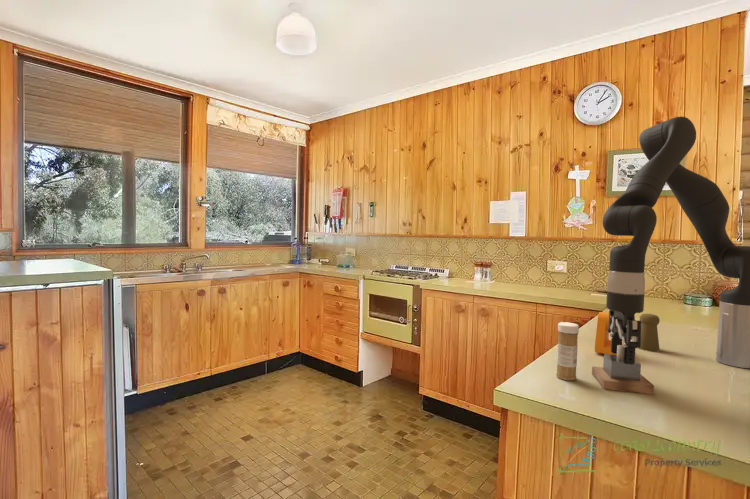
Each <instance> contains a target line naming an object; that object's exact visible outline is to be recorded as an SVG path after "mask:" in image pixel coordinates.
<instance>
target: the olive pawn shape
mask: <svg viewBox="0 0 750 499" xmlns="http://www.w3.org/2000/svg"><path fill="white" fill-rule="evenodd" d="M660 320H661V319H660V317H659V316H658V315H656V314H653V313H641V314H640V315H639V321H641V346H640V348H638V349H639V350H641V349H643V351H646V350H647V352H660V342H659V340H660V339H659V333H658V332H659V331H658V325H659V324H660Z"/></svg>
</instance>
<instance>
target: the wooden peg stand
mask: <svg viewBox="0 0 750 499" xmlns="http://www.w3.org/2000/svg"><path fill="white" fill-rule="evenodd" d="M623 347H624V346H623V345H617V360H616V361H623ZM591 375H592V376H593V378H594V379H595V380H596V382H598V384H599V385H600V386H601V387H602V389H604V390H611V391H612V390H613V391H620V392H629V393H637V394H640V393H641V394H647V395H655V389H654V388H655V385H654V384H653V383H652V382H650V381H649V380H648V379H647V378H646V377H645V376H643V375H642V374H641V373H640V381H633V380H624V379H614V378H610V377H609V376H608V375H607V373H606V372H605V371H604V370H603V366H602V367H601V366H593V365H592V366H591Z"/></svg>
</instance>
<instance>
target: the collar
mask: <svg viewBox="0 0 750 499" xmlns="http://www.w3.org/2000/svg"><path fill="white" fill-rule="evenodd" d="M616 360H617V355H611V354H603V363H602V364H603V365H602V367H603V370H604V371H605V372H606V373H607V375H608V376H609V377H610V378H614V379H624V380H633V381H640V374H641V373H642V371H641V370H642V369H641V368H642V363H641V362H639V361H638V360H637V359H635V363H634V364H633V365H630V364H625V363H623V361H616Z"/></svg>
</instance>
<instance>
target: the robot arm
mask: <svg viewBox="0 0 750 499" xmlns="http://www.w3.org/2000/svg"><path fill="white" fill-rule="evenodd" d="M696 140H697V130H696V127H695V125H694V123H693V121H691V119H690V118H688V117H686V116H675V117H673V118H670V119H667V120H665V121H662V122H659V123H658V124H655V125H653V126H651V127H648V128H646V129H644V130H642V131H641V132H640V134H639V140H638V141H639V145H640V148H641V150H642V153H643V154H644V156H645V157H646V159H648V161H647V162H646V163H645V164H644V165H643V166H642V167H640V168H639V169H638V170H637V171H636V172H635V173H634V175H633V176H632V178H631V180H630V182H629V184H628V185H627V188H626V190H625V191H624V193H622V194H621V195H620V196H619V197H618V198H617V199H615V201H613V202H612V204H610V206H608V208H607V209H606V211H605V212H604V215H603V217H602V228H603V229H604V231H605V232H606V233H607V234H608V235H611V236H614V237H616V236H617V237H618V236H619V237H622V236H623V237H624V236H625V237H627V236H628V237H632V239H631V241H630V242H629V243H628V244H624V245H617V246H614V247H612V248H611V250H609V251H610V253H609V264H608V265H609V266H608V267H609V268H608V270H609V271H608V275H607V282H606V283H607V286H606V301H605V302H606V305H605V306H606V309H608V310H609V312H608V313H609V323H608V333H609V336H610V338H611V339H610V340H611V352H612V353H614V354H617V345H622V342H623V346H624V347H623V363H625V364H630V365H633V364H634V363H635V360H636V349H639V348H640V346H641V321H640V320H636V319H635V318H636V316H635V314H640V313H641V314H642V313H643V312H644V310H645V309H644V308H645V292H646V291H645V290H646V279H645V264H646V263H645V262H646V254H647V251H648V247H649V244H650V241H651V237H652V235H653V233H654V230H655V228H656V225H657V223H658V222H657V220H658V219H657V217H658V216H657V214H656V211H655V209H653V207H655V205H656V204H657V202H658V200H659V198H660V196H661V193H662V191H663V189H664V187H665V185H666V184H667V186H668V187H669V188H670V190H671V192H672V194H673V195H674V197H675V198H676V200H677V201H678V204H679V205H680V207H681V209H682V210H683V212H684V214H685V215H686V217H687V219H689V221H690V222H691V224H692V225H693V227H694V229H695V231H696V233H697V235H698V236H699V237H700V239H701V242H702V244H703V245H704V247H705V249H706V252H707V254H708V256H709V258H710V261H711V262H712V264H713V267H714V268H715V270H716V271H717V272H718V274H720V275H722V276H723V277H727V278H731V279H738V281H739V282H738V284H737V286H735V287H734V288H733V287H732V288H730V289H726V290H722V291H721V292H720V294H719V305H718V306H719V309H718V322H717V323H718V324H717V343H716V352H715V354H716V358H715V359H716V361H717V362H719V363H721V364H724V365H728V366H731V367H735V368H736V367H737V368H742V369H743V368H744V369H750V246H749V245H736V244H735V243H734V242H733V241H732V240H731V239H730V236H729V235H728V233H727V230H726V227H727V222H728V218H729V216H730V215H729V214H730V205H729V202H728V200H727V198H726V197H725V195H724V194H723V191H722V190H721V189H720V187H719V185H718V184H716V183H715V182H713V181H712V180H711V179H710V178H706V177H705V176H704V175H701V174H699V173H697V172H695V171H692V170H691V169H689V168H686V167H685V166H683V165H682V164H681V162H682V161H683V160H684V159H685V157H686V156H687V154H688V153H690V151H691V149H692V148H693V146H694V145H695V143H696Z"/></svg>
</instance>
